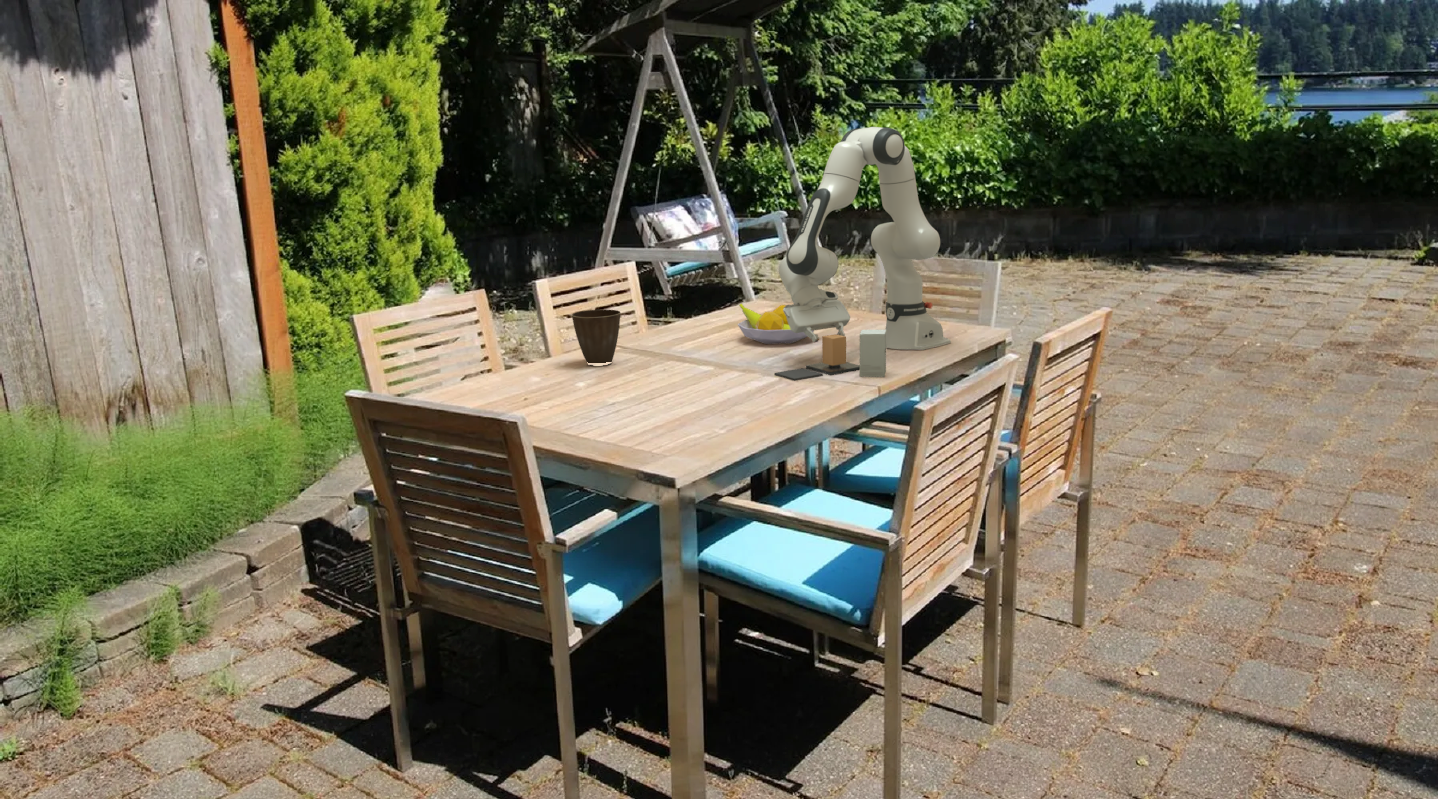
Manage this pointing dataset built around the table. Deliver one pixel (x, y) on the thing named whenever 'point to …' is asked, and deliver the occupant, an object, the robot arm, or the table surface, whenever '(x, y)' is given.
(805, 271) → the robot arm
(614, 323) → the plant pot
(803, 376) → the mat
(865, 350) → the supplement box
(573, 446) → the table surface
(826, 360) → the tan rectangular pillar
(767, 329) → the fruit bowl
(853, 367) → the post stand
